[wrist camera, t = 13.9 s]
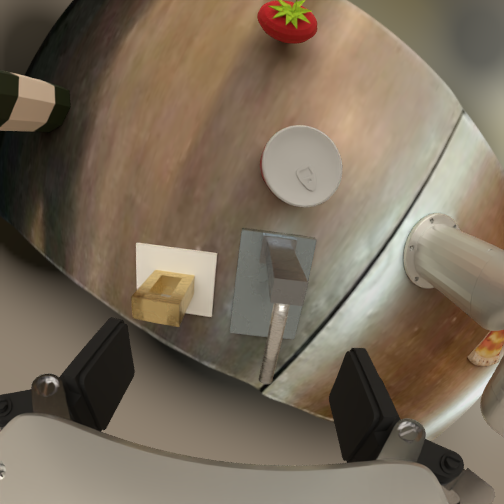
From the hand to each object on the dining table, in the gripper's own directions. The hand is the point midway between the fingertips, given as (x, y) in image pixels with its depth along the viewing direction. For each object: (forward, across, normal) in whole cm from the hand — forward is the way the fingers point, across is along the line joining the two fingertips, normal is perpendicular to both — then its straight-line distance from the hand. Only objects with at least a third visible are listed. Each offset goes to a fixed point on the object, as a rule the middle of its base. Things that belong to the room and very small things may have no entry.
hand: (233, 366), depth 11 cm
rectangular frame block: (+27, +10, +9) cm, 30 cm away
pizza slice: (+30, -66, +19) cm, 75 cm away
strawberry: (+28, -1, -28) cm, 39 cm away
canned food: (+28, -4, -8) cm, 30 cm away
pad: (+27, +10, +9) cm, 31 cm away
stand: (+28, -4, +8) cm, 29 cm away
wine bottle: (+27, +35, -17) cm, 48 cm away
